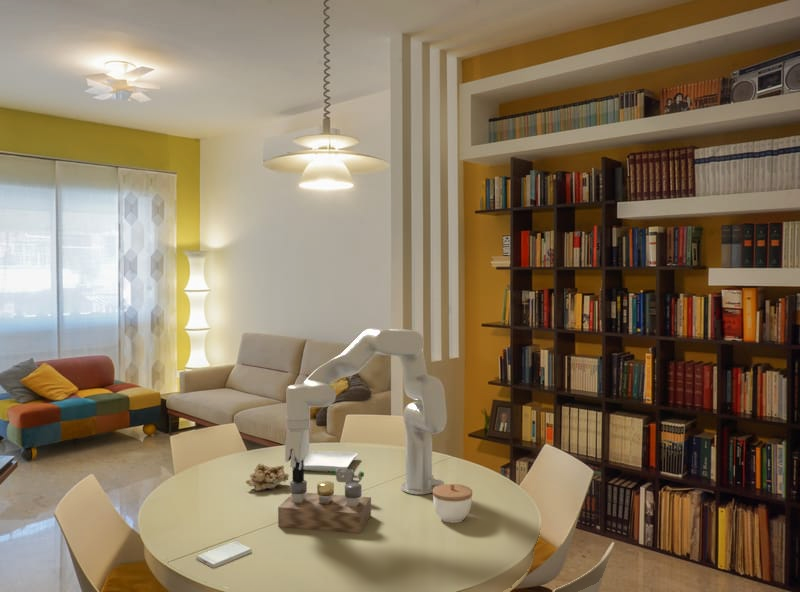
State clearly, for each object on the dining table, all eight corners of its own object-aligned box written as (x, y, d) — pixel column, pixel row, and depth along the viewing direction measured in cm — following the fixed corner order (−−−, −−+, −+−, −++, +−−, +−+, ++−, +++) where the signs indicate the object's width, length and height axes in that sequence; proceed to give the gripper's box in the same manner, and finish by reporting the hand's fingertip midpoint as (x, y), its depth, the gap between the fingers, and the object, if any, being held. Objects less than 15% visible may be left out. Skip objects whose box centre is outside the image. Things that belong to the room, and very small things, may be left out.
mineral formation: (256, 479, 239) (295, 478, 237) (244, 497, 226) (285, 497, 224) (254, 460, 237) (293, 459, 235) (241, 477, 224) (282, 476, 222)
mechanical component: (362, 501, 216) (362, 473, 215) (333, 499, 218) (333, 471, 217) (364, 498, 219) (364, 470, 218) (336, 496, 221) (336, 468, 220)
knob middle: (335, 506, 201) (335, 481, 201) (331, 512, 196) (330, 487, 195) (320, 505, 202) (320, 480, 202) (315, 511, 197) (314, 486, 196)
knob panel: (370, 515, 203) (370, 497, 203) (359, 533, 190) (359, 513, 189) (294, 509, 208) (294, 491, 208) (278, 526, 195) (278, 507, 194)
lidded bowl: (445, 529, 193) (446, 493, 192) (425, 515, 204) (425, 481, 203) (480, 521, 198) (480, 487, 198) (458, 508, 210) (458, 475, 209)
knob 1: (309, 504, 203) (308, 480, 202) (303, 510, 197) (303, 485, 197) (293, 503, 204) (293, 478, 203) (287, 509, 198) (287, 484, 198)
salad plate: (310, 457, 269) (310, 449, 269) (358, 459, 266) (358, 451, 266) (295, 473, 248) (294, 464, 248) (347, 475, 245) (347, 466, 245)
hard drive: (234, 540, 182) (196, 554, 172) (251, 548, 176) (213, 563, 167) (234, 546, 182) (196, 560, 172) (251, 554, 177) (213, 570, 167)
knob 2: (363, 508, 199) (363, 483, 199) (359, 514, 194) (359, 489, 194) (347, 507, 200) (347, 482, 200) (342, 513, 195) (342, 488, 195)
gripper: (295, 418, 208) (295, 473, 208) (277, 429, 193) (278, 488, 194) (317, 419, 206) (317, 474, 207) (301, 430, 192) (301, 490, 192)
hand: (298, 481), depth 200 cm, fingers closed
